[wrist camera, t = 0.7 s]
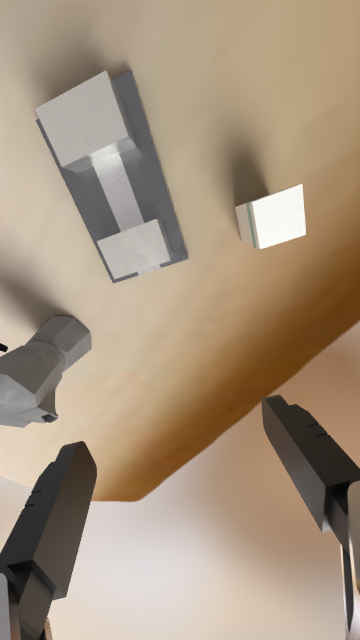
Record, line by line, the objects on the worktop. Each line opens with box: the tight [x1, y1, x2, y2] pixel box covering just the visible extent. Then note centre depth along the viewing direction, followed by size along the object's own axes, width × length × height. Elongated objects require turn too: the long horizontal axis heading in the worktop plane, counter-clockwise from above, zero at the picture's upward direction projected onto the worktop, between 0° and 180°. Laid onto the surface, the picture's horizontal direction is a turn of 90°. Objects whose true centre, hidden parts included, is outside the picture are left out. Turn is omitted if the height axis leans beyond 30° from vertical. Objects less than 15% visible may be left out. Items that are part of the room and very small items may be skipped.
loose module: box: [235, 184, 306, 249], centre depth 24 cm, size 4×4×9 cm
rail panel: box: [35, 70, 189, 283], centre depth 26 cm, size 20×12×5 cm, turn 18°
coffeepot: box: [0, 316, 91, 428], centre depth 30 cm, size 15×9×18 cm, turn 61°
